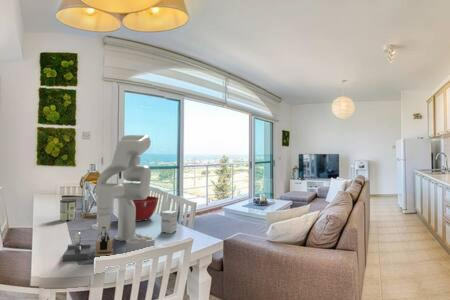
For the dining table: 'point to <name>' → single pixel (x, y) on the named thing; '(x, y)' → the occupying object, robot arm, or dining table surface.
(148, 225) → the dining table surface
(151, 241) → the lumpy-topped squat cylinder
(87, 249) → the vise block
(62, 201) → the coffee can
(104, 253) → the cork pad
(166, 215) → the supplement box
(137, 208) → the mixing bowl
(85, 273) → the dining table surface
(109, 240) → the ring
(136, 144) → the robot arm
